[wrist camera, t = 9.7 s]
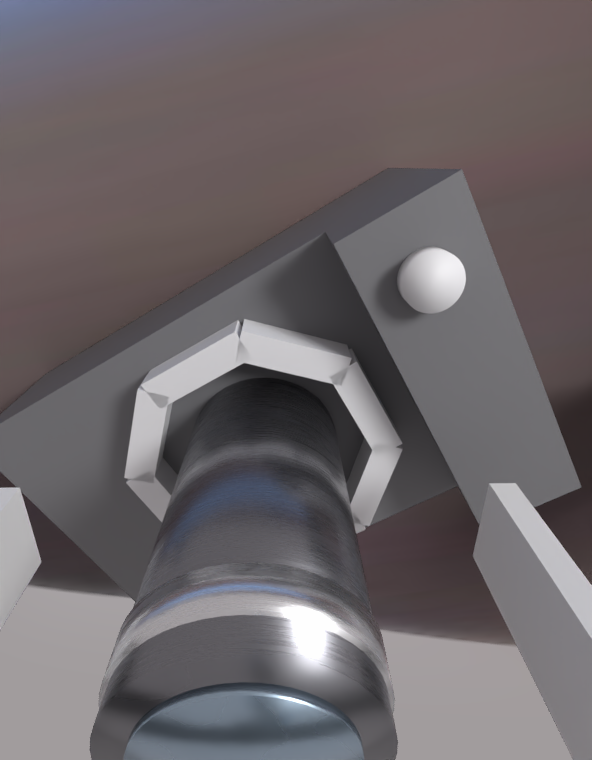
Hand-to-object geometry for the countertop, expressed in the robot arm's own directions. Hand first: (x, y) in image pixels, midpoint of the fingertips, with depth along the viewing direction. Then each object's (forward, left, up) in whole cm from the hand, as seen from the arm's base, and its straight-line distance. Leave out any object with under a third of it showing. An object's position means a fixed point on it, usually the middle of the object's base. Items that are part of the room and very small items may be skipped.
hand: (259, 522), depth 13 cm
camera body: (0, 0, -10) cm, 10 cm away
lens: (0, 0, -4) cm, 4 cm away
